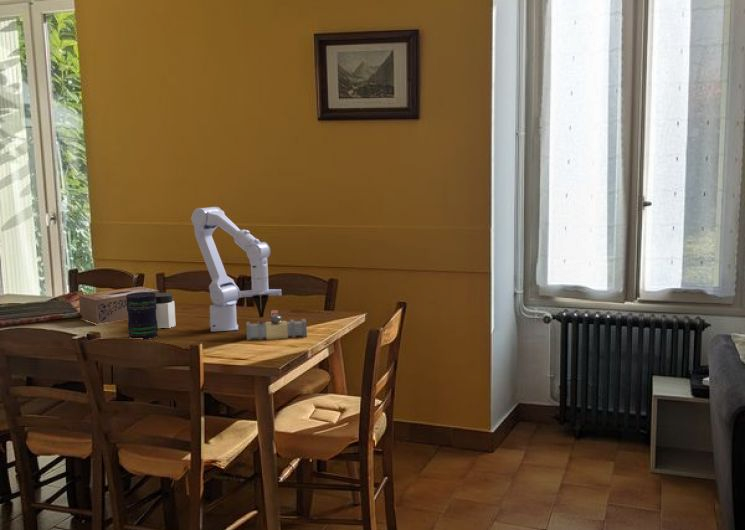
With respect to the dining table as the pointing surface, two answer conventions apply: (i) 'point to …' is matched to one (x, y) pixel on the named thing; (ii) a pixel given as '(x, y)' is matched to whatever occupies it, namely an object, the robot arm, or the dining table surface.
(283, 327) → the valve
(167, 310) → the jar
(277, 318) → the lever
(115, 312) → the tissue box cover
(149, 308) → the storage jar
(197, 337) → the dining table surface
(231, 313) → the robot arm
